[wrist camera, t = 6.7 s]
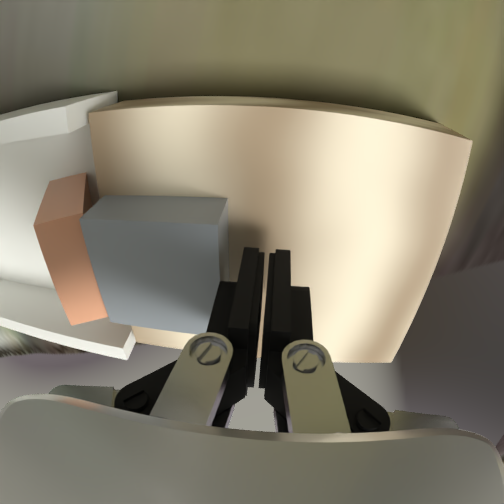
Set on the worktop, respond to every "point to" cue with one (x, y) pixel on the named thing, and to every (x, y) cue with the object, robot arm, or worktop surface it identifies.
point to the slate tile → (158, 258)
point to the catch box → (25, 211)
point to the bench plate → (301, 199)
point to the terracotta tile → (69, 248)
